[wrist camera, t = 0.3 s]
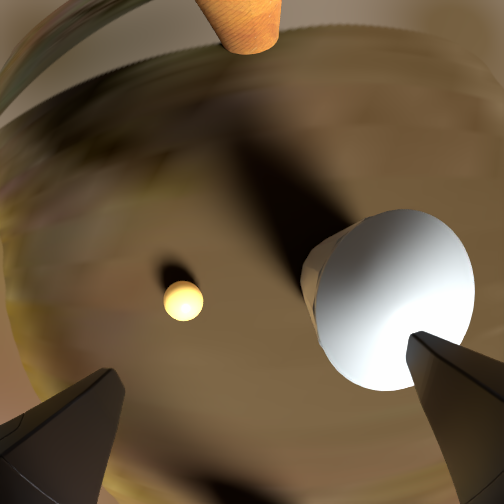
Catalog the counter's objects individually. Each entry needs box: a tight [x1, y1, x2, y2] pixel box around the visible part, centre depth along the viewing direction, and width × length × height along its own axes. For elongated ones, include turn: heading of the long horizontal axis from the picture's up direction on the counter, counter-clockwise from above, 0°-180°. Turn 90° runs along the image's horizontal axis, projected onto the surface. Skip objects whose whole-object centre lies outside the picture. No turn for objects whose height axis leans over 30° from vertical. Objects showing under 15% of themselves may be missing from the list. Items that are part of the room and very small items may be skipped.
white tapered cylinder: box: [300, 210, 475, 391], centre depth 15 cm, size 7×7×12 cm
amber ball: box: [164, 281, 203, 321], centre depth 21 cm, size 3×3×3 cm
